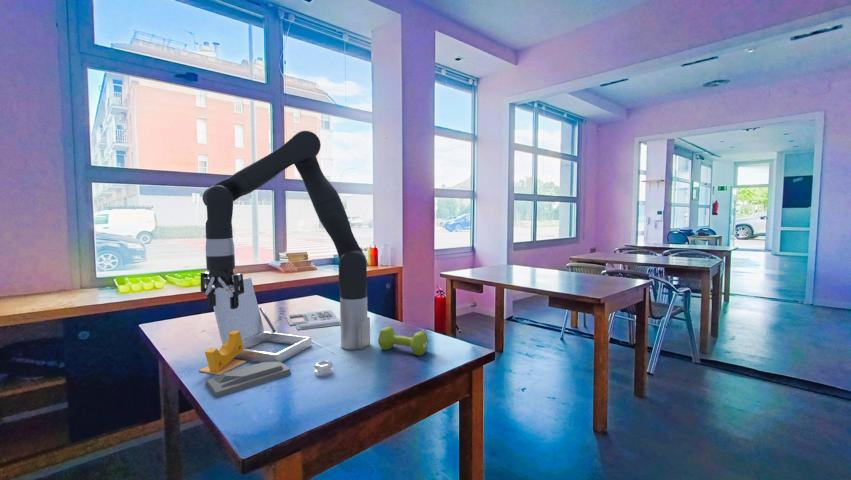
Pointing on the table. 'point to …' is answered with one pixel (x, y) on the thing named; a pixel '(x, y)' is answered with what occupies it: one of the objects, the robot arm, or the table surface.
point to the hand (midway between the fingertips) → (223, 307)
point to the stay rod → (267, 319)
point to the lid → (238, 313)
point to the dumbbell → (403, 340)
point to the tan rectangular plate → (226, 368)
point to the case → (260, 356)
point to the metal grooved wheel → (323, 368)
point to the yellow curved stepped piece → (224, 352)
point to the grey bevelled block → (246, 377)
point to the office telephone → (315, 320)
